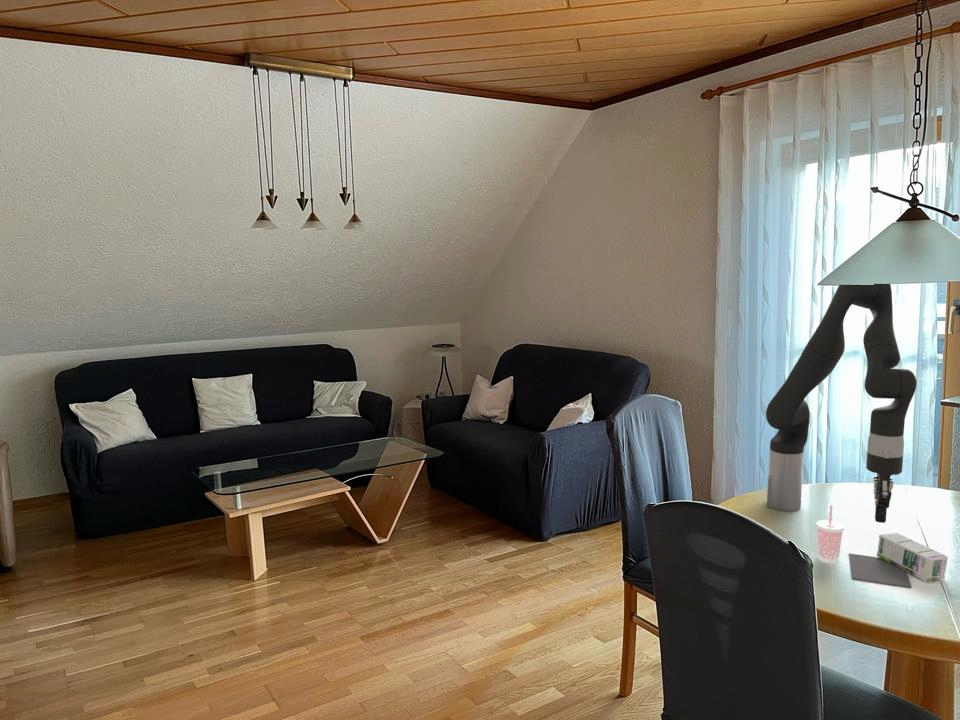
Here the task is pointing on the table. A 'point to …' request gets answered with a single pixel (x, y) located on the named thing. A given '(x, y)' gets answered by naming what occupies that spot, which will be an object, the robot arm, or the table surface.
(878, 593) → the table surface
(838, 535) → the beverage cup
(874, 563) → the mat
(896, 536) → the syrup box
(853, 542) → the table surface
